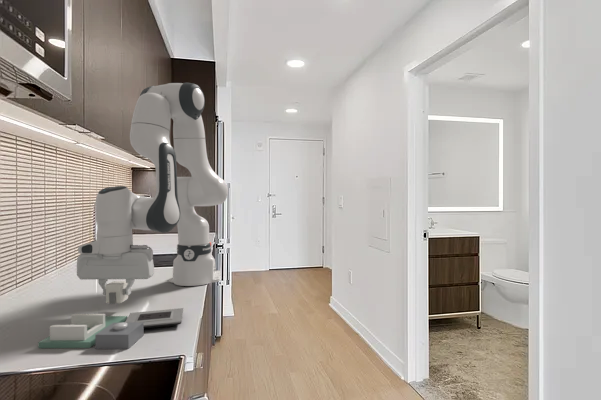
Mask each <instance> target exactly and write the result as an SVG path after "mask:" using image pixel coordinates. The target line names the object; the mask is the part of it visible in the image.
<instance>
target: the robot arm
mask: <svg viewBox="0 0 601 400" xmlns="http://www.w3.org/2000/svg"><path fill="white" fill-rule="evenodd" d="M205 104H206V98H205V95H204V92H203V89H201V87H200V86H199V85H198V84H195V83H191V82H183V83H182V82H169V83H165V84H159V85H151V86H147V87H146V88H143V90H142V91H141V92H140V94H139V97H138V99H137V100H136V103H135V106H134V109H133V113H132V117H131V122H130V123H131V124H130V130H129V142H130V145H131V147H132V149H133V150H134V151H135V152H136V153H137V154H138V155H140V156H142V157H143V158H145V159H148V160H150V161H151V162H152V164H153V165H154V168H155V190H156V191H155V195H154V196H153V197H145V196H142V195H139V194H137V193H134V192H133V191H131V190H130V189H129V188H128V187H127V186H125V185H115V186H109V187H105V188H102V189H101V190H99V191H97V194H96V199H95V221H96V224H97V231H96V234H95V235H96V236H95V237H96V240H91V241H90V242H87V243H85V244H82V245H78V247H77V251H78V257H77V259H76V260H77V261H76V276H77V277H78V278H79V280H81V281H82V280H85V281H86V280H97V282H98V285H99V286H100V287H101V289H102V294H103V295H102V296H106V285H107V284H108V283H107V282H108V281H109V280H125V281H126V283H128V284H127V286H126V287H125V288H124V289H122V292H123V295H128V296H130V295H131V294H132V287H133V284H134V283H135V280H148V279H151V278H152V277H153V276H154V275H155V265H154V259H153V258H154V251H153V249H152V247H150V246H148V245H147V244H142V245H139V244H134V241H133V240H134V239H133V238H134V237H133V230H142V231H153V232H159V233H164V234H165V233H169V232H171V231H172V230H173V229H174V228H175V227H176V226H177V240H178V242H177V245H176V254H177V256H176V257H175V258H174V259H173V263H172V277H170V278H169V279H168V282H169V283H171V284H174V285H176V286H183V287H184V286H185V287H193V286H194V287H195V286H203V285H207V284H211V283H218V282H219V283H220V282H221V278H222V277H221V276H222V271H221V270H217V268H216V259H215V258H214V256H213V255H212V242H211V241H210V225H209V222H208V220H207V219H206V218H205V217H202V216H201V215H199V214H198V213H197V212H196V210H195V207H213V206H218V205H222V204H224V202H225V201H226V200H227V198H228V195H229V187H228V185H227V183H226V181H225V180H224V179H223V178H222V177H220V176H219V174H217V173H216V172H215V171H214V169H213V168H212V167H211V165H210V161H209V159H208V153H207V152H208V151H207V144H206V143H207V142H206V132H205V126H204V120H203V117H202V113H203V111H204V109H205ZM171 119H172V121H173V125H172V136H173V138H172V139H173V146H172V144H171V139H170V136H171V135H170V134H171ZM177 163H178V164H179V165H180V166H182V167H184V168H186V169H187V170H188V171H189V173H190V176H178V169H177V167H178V166H177Z"/></svg>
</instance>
